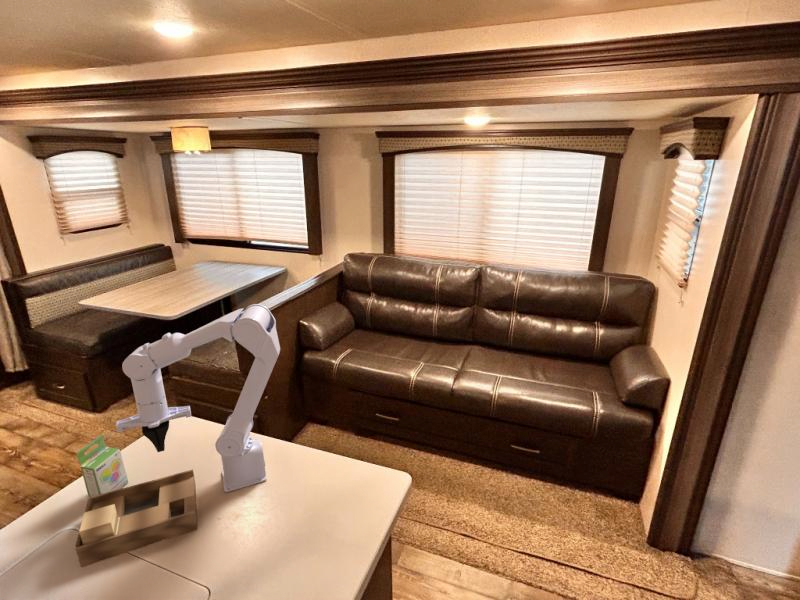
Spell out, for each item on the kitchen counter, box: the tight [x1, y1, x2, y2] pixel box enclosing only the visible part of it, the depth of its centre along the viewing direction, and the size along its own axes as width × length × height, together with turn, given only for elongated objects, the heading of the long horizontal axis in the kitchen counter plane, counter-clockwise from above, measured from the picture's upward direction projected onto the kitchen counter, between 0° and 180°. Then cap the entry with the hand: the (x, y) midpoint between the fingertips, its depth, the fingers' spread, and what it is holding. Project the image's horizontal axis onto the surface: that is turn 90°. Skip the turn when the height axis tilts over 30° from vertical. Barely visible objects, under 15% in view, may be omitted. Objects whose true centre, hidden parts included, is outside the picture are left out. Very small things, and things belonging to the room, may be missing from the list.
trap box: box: [74, 469, 198, 568], centre depth 88 cm, size 20×14×5 cm
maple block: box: [78, 504, 119, 545], centre depth 82 cm, size 5×5×4 cm
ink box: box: [76, 433, 129, 498], centre depth 95 cm, size 7×4×13 cm, turn 169°
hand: (161, 449), depth 97 cm, fingers closed
